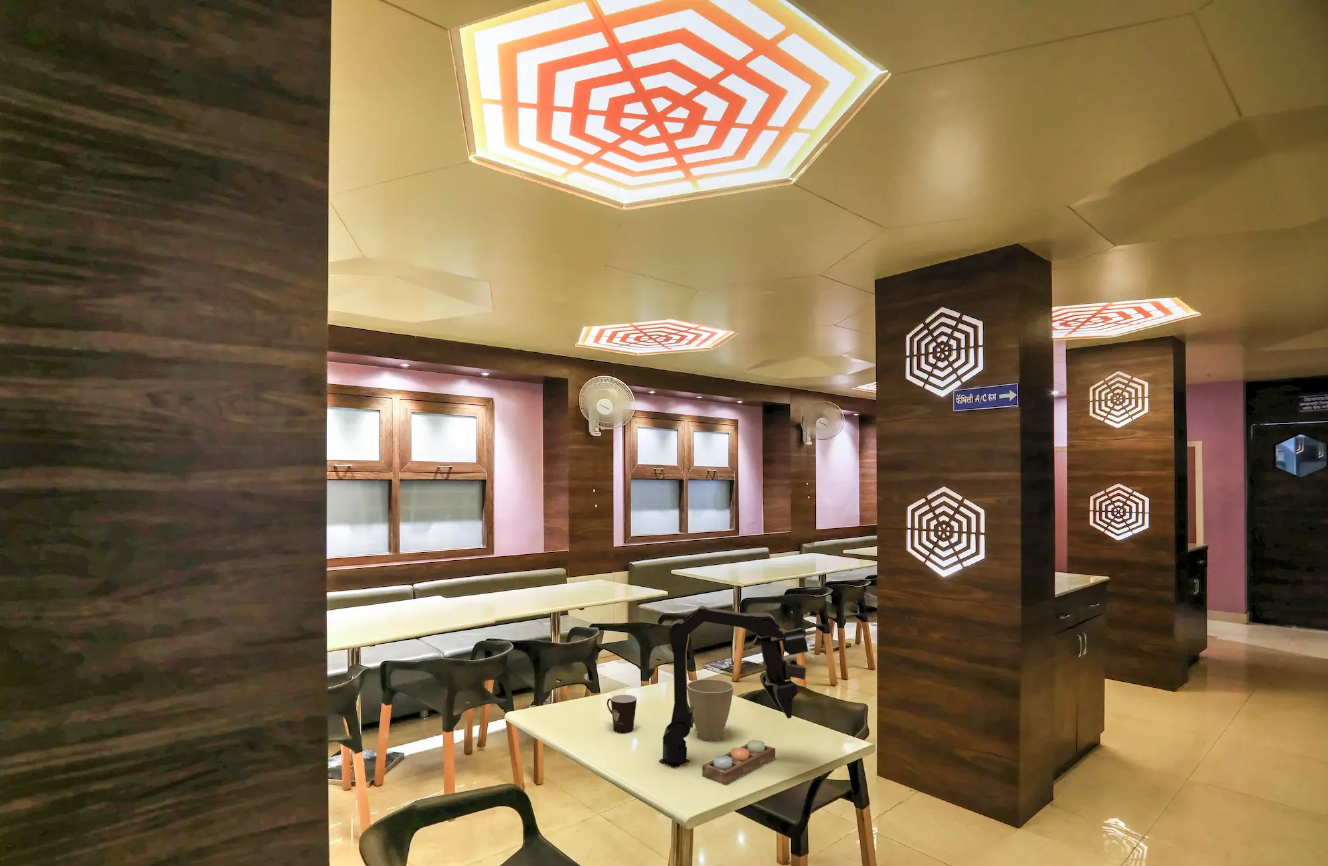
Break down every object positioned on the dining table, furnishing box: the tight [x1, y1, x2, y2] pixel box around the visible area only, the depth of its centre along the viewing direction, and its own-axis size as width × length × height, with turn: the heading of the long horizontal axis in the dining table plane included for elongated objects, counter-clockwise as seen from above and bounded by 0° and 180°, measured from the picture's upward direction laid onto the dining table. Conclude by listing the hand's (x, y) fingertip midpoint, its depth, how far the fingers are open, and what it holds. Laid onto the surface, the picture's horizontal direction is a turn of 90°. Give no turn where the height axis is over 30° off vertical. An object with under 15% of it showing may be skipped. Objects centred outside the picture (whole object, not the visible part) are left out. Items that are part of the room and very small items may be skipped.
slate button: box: [713, 754, 732, 771], centre depth 179 cm, size 5×5×3 cm
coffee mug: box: [606, 694, 638, 735], centre depth 216 cm, size 12×9×10 cm
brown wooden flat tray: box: [701, 743, 776, 786], centre depth 185 cm, size 8×24×3 cm, turn 138°
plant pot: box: [687, 678, 734, 741], centre depth 209 cm, size 15×15×16 cm
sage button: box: [746, 739, 765, 754], centre depth 191 cm, size 5×5×3 cm
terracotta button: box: [730, 747, 749, 762], centre depth 185 cm, size 5×5×3 cm
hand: (784, 713), depth 186 cm, fingers open, 9 cm apart
